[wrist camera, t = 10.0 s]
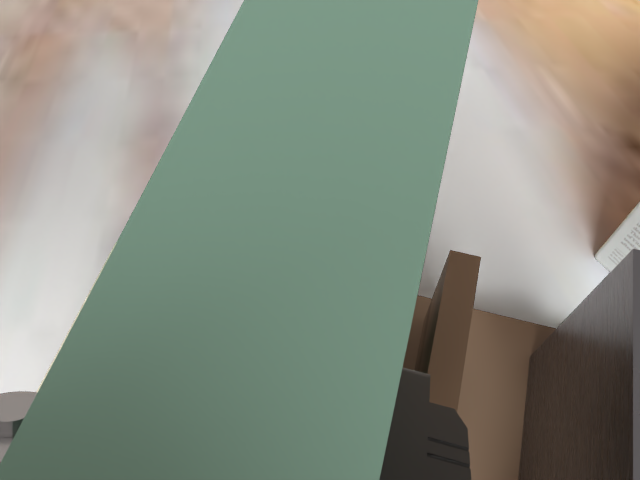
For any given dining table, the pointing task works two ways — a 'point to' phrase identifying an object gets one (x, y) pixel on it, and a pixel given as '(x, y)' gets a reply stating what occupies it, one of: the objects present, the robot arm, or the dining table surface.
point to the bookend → (588, 388)
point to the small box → (621, 241)
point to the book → (266, 259)
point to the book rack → (475, 366)
